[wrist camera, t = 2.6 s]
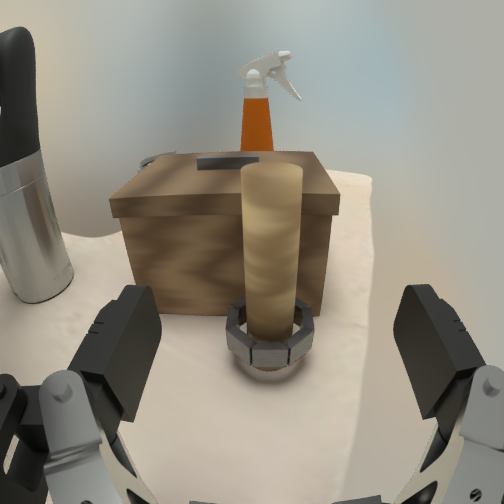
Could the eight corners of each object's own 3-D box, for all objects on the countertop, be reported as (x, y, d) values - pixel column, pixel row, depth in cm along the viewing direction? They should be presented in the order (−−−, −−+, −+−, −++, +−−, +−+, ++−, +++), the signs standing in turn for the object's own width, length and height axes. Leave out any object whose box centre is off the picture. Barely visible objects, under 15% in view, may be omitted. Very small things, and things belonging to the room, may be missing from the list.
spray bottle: (291, 227, 47) (293, 47, 33) (229, 215, 51) (221, 52, 37) (305, 210, 52) (308, 53, 38) (248, 200, 56) (244, 55, 43)
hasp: (224, 366, 22) (214, 279, 18) (234, 295, 29) (229, 217, 25) (314, 366, 21) (329, 280, 17) (304, 296, 29) (311, 218, 25)
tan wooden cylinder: (247, 370, 24) (238, 178, 16) (249, 339, 27) (242, 161, 19) (290, 371, 24) (306, 178, 16) (289, 339, 27) (299, 161, 19)
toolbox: (139, 314, 30) (106, 185, 23) (173, 243, 43) (160, 146, 36) (323, 318, 29) (341, 179, 22) (307, 243, 42) (313, 142, 35)
